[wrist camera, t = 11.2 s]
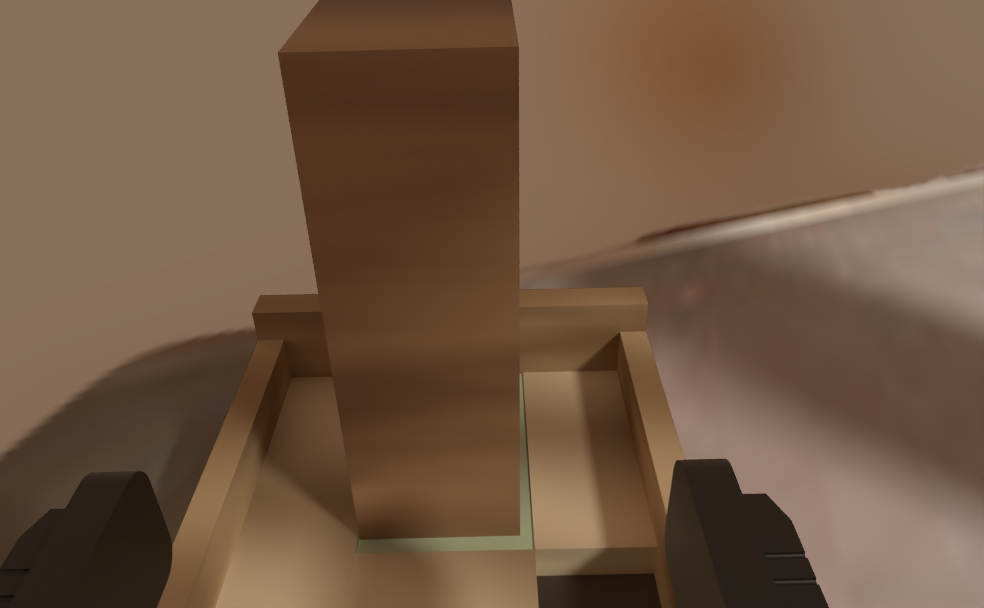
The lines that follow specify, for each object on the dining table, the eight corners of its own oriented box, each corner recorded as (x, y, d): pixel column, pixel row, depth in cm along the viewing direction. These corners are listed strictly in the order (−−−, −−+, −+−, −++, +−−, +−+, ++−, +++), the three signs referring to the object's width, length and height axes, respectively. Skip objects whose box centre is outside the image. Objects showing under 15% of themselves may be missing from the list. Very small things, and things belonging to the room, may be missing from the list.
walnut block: (520, 535, 19) (519, 46, 13) (360, 539, 19) (278, 52, 13) (511, 384, 24) (507, -23, 18) (384, 387, 24) (334, -19, 18)
